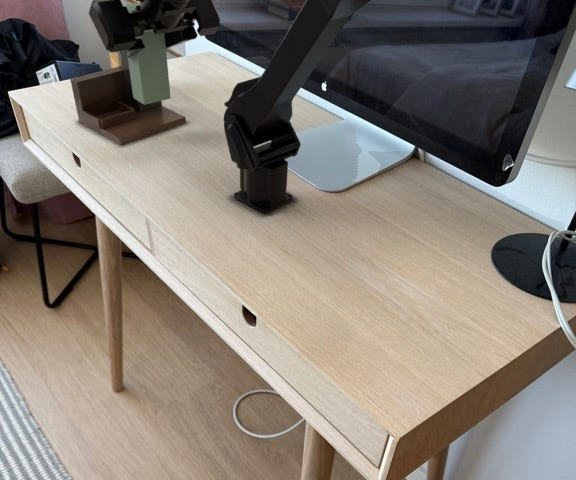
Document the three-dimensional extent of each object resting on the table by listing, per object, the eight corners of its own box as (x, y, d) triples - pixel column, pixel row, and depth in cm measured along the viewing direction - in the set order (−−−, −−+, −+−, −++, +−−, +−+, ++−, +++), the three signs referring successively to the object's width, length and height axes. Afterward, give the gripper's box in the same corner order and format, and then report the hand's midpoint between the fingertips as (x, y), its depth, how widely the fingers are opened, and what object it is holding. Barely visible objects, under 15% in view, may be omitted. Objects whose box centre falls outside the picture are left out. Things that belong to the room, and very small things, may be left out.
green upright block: (170, 98, 93) (162, 6, 84) (144, 105, 91) (132, 11, 82) (159, 92, 95) (149, 1, 86) (133, 98, 93) (120, 5, 83)
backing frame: (186, 122, 101) (179, 33, 91) (119, 145, 93) (104, 51, 83) (144, 102, 106) (133, 15, 96) (78, 122, 99) (58, 30, 88)
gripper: (204, -83, 79) (169, -7, 92) (79, -75, 70) (61, 8, 83) (239, -3, 80) (200, 60, 94) (122, 15, 72) (97, 82, 85)
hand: (142, 51), depth 89 cm, fingers closed on green upright block, 5 cm apart
